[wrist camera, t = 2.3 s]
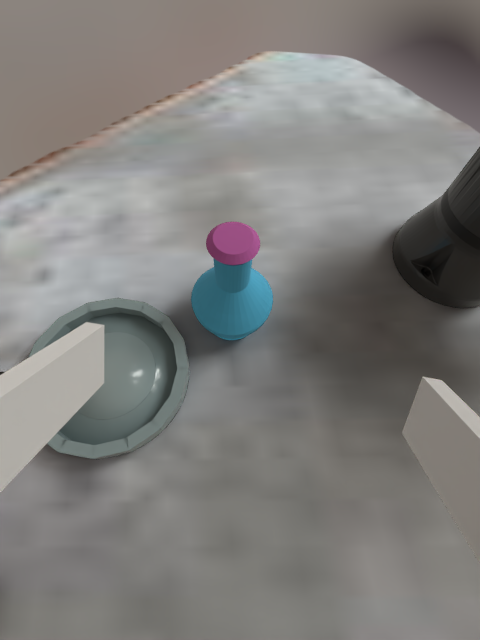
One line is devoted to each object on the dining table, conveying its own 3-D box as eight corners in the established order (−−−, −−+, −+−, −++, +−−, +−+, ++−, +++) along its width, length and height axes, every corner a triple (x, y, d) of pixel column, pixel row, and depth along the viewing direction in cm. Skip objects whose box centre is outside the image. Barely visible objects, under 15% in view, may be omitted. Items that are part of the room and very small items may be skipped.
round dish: (69, 297, 41) (61, 288, 39) (203, 320, 41) (202, 312, 38) (4, 441, 34) (-11, 438, 32) (166, 472, 33) (162, 472, 31)
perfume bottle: (180, 328, 40) (156, 253, 26) (219, 273, 44) (214, 183, 30) (246, 363, 38) (256, 303, 25) (280, 303, 42) (305, 222, 28)
